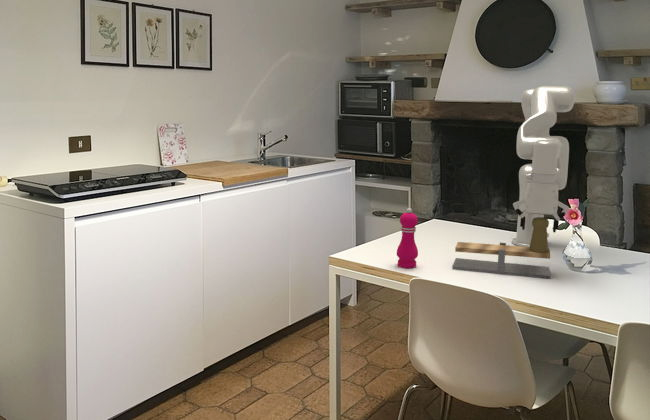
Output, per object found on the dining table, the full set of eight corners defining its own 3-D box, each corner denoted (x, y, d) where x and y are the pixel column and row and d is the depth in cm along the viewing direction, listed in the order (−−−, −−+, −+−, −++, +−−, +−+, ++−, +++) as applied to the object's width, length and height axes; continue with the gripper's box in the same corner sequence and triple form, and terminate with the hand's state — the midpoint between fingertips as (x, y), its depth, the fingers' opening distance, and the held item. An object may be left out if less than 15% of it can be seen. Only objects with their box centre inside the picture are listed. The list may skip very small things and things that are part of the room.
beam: (455, 253, 207) (455, 247, 207) (457, 248, 215) (457, 241, 214) (549, 260, 198) (550, 254, 198) (548, 254, 206) (549, 248, 206)
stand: (452, 269, 207) (453, 245, 205) (455, 260, 217) (456, 238, 216) (550, 278, 198) (552, 254, 196) (548, 269, 208) (550, 246, 207)
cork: (549, 253, 199) (552, 220, 197) (530, 252, 200) (532, 219, 198) (546, 248, 205) (549, 216, 203) (527, 247, 206) (529, 215, 204)
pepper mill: (402, 261, 215) (404, 205, 211) (421, 265, 211) (423, 207, 207) (392, 266, 209) (394, 208, 205) (411, 270, 205) (414, 211, 201)
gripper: (514, 179, 198) (510, 230, 201) (572, 182, 193) (567, 235, 196) (515, 175, 205) (511, 225, 208) (571, 178, 200) (566, 229, 203)
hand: (538, 230), depth 202 cm, fingers open, 9 cm apart
